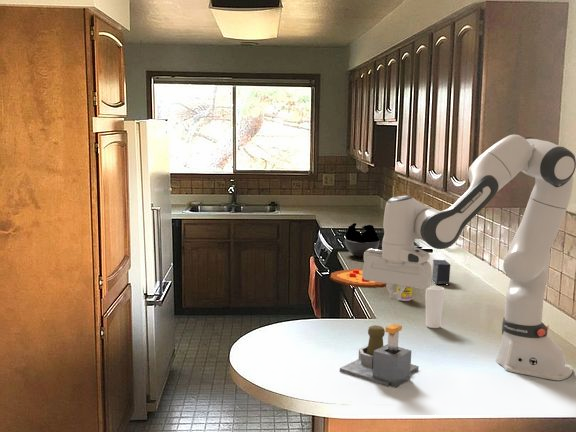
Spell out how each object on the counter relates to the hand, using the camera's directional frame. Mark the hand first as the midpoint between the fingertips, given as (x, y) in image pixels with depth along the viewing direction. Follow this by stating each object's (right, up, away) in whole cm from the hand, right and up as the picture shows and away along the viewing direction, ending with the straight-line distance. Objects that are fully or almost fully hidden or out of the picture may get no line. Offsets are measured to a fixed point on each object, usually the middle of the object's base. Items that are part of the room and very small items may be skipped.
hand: (395, 299), depth 182 cm
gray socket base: (-3, -23, +11) cm, 26 cm away
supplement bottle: (+20, -12, +92) cm, 94 cm away
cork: (-3, -22, +16) cm, 27 cm away
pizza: (+6, -7, +127) cm, 127 cm away
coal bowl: (+11, 0, +180) cm, 180 cm away
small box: (+43, -9, +123) cm, 130 cm away
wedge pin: (0, -17, +3) cm, 18 cm away
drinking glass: (+24, -18, +55) cm, 62 cm away
